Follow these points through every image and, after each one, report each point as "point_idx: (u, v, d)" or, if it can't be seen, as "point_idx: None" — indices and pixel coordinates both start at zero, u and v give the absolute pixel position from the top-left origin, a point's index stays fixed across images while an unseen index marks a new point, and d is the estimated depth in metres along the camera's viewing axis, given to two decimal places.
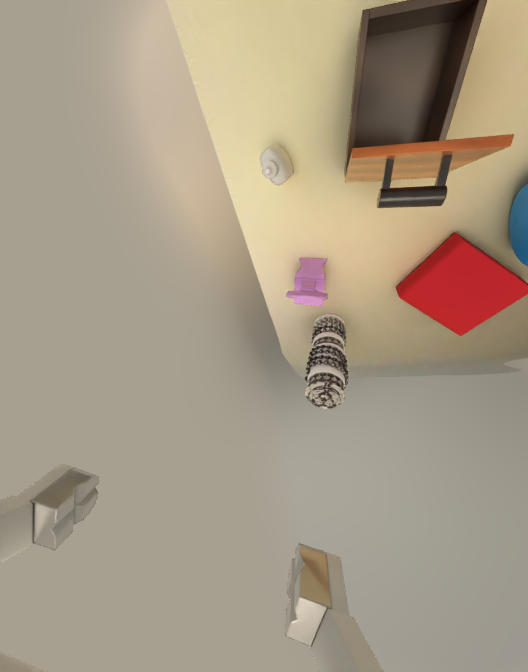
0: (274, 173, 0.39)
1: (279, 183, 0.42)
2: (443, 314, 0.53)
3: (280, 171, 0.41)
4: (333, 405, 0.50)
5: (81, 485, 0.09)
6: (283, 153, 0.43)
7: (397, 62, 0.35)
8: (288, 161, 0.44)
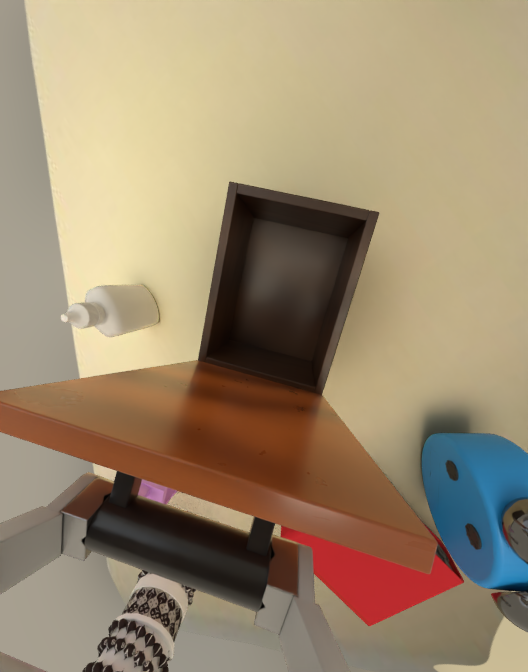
0: (84, 323, 0.23)
1: (108, 335, 0.27)
2: (343, 585, 0.32)
3: (108, 321, 0.26)
4: None
5: (108, 494, 0.09)
6: (138, 298, 0.30)
7: (288, 253, 0.29)
8: (145, 309, 0.31)
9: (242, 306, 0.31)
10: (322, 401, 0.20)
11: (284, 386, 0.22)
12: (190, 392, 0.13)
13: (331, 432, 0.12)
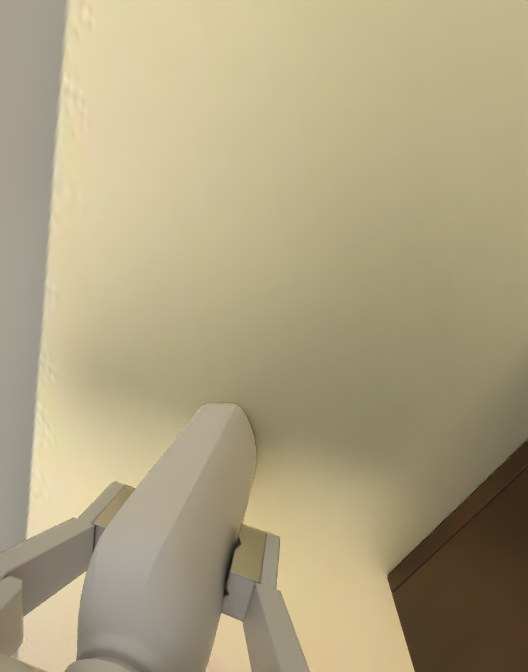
0: None
1: None
2: None
3: None
4: None
5: None
6: (241, 479, 0.10)
7: None
8: (246, 502, 0.11)
9: None
10: None
11: None
12: None
13: None
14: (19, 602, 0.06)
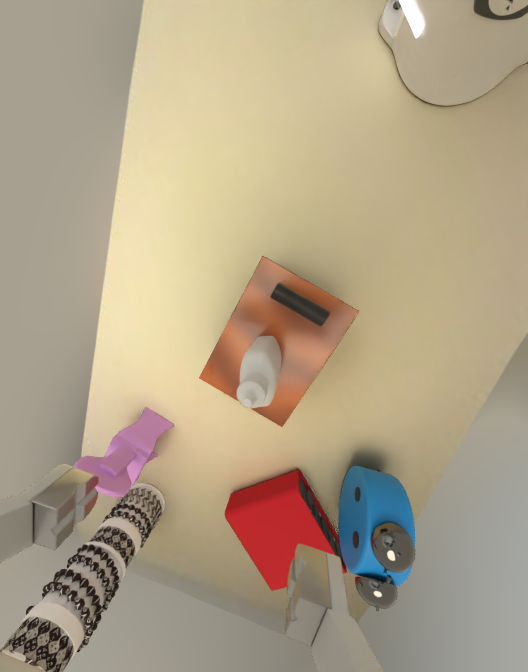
0: (256, 405, 0.20)
1: None
2: (261, 557, 0.43)
3: (265, 395, 0.22)
4: None
5: (81, 485, 0.09)
6: (278, 358, 0.27)
7: None
8: (279, 370, 0.27)
9: None
10: None
11: None
12: None
13: None
14: None
